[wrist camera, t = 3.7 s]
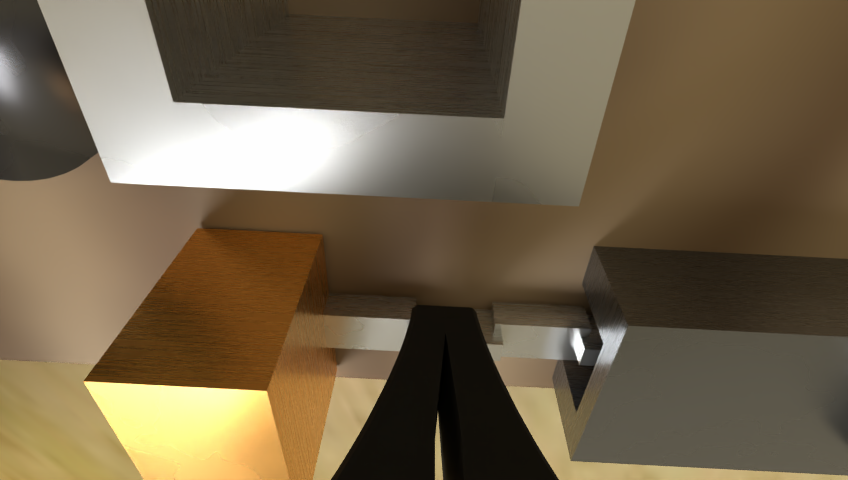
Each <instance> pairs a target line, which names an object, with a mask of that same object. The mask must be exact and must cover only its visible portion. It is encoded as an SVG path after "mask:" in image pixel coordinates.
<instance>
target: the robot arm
mask: <svg viewBox="0 0 848 480" xmlns="http://www.w3.org/2000/svg"><path fill="white" fill-rule="evenodd" d="M437 414H438V416H439V429H440V443H441V456H442V470H443V480H559V479H558V478H557V476H556V474H555V473H554V471H553V470H552V468H551V467H550V465H549V464H548V462H547V460H546V459H545V457H544V456H543V454H542V452H541V451H540V449H539V447H538V446H537V444H536V442H535V441H534V439H533V437H532V435H531V434H530V432H529V430H528V428H527V426H526V425H525V423H524V421H523V419H522V417H521V416H520V414H519V412H518V410H517V408H516V406H515V404H514V402H513V400H512V399H511V397H510V395H509V392H508V390H507V388H506V386H505V384H504V382H503V380H502V378H501V376H500V374H499V372H498V369H497V367H496V365H495V363H494V360H493V358H492V356H491V353H490V351H489V348H488V346H487V343H486V341H485V338H484V335H483V333H482V330H481V327H480V323H479V320H478V317H477V313H476V311H475V310H474V309H473V308H470V307H451V306H431V305H416V306H415V307H413V308H412V311H411V317H410V321H409V325H408V329H407V332H406V335H405V338H404V341H403V344H402V346H401V349H400V352H399V354H398V357H397V359H396V361H395V364H394V366H393V368H392V371H391V373H390V375H389V377H388V380H387V382H386V384H385V386H384V388H383V390H382V392H381V394H380V396H379V398H378V400H377V402H376V404H375V406H374V408H373V410H372V412H371V414H370V415H369V417H368V419H367V421H366V423H365V425H364V427H363V428H362V430H361V432H360V434H359V435H358V437H357V439H356V441H355V442H354V444H353V446H352V447H351V449H350V451H349V452H348V454H347V455H346V457H345V459H344V460H343V462H342V464H341V465H340V467H339V468H338V470H337V471H336V473H335V474H334V476H333V477H332V479H331V480H435V433H436V424H437Z"/></svg>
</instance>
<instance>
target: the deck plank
mask: <svg viewBox="0 0 848 480" xmlns="http://www.w3.org/2000/svg"><path fill="white" fill-rule="evenodd" d="M479 6H480V0H288V9H289V14H299V15H319V16H339V17H360V18H380V19H400V20H420V21H440V22H460V23H478V16H479ZM197 228H205V229H224V230H244V231H263V232H283V233H303V234H322V235H323V243H324V252H325V261H326V271H327V280H328V289H329V293H332V294H351V295H371V296H390V297H410V298H416V305H431V306H451V307H470V308H473V309H482V310H491V308H492V302H507V303H527V304H546V305H566V306H584V308H585V311H586V314H587V315H593V313H592V310H591V308H590V305H589V302H588V299H587V296H586V294H585V291H584V288H583V285H582V281H583V278H584V275H585V272H586V269H587V266H588V262H589V259H590V256H591V253H592V250H593V247H594V246H606V247H625V248H645V249H664V250H684V251H704V252H723V253H743V254H763V255H782V256H802V257H821V258H841V259H848V0H636V1H635V5H634V8H633V12H632V16H631V19H630V23H629V26H628V30H627V34H626V37H625V41H624V45H623V48H622V52H621V55H620V59H619V63H618V66H617V70H616V74H615V77H614V81H613V84H612V88H611V92H610V95H609V99H608V103H607V106H606V110H605V113H604V117H603V121H602V124H601V128H600V132H599V135H598V139H597V142H596V146H595V150H594V153H593V157H592V160H591V164H590V168H589V171H588V175H587V179H586V182H585V186H584V189H583V193H582V197H581V200H580V204H579V206H561V205H541V204H521V203H501V202H482V201H462V200H442V199H423V198H403V197H383V196H364V195H344V194H324V193H304V192H285V191H265V190H245V189H226V188H206V187H186V186H166V185H147V184H127V183H111V182H110V180H109V177H108V175H107V172H106V170H105V167H104V165H103V162H102V160H101V157H100V155H99V152H98V153H97V154H96V155H94V156H93V157H92V158H90V159H89V160H88V161H86V162H85V163H84V164H82V165H81V166H79V167H78V168H76V169H74V170H72V171H70V172H67V173H65V174H62V175H59V176H56V177H52V178H49V179H41V180H34V181H8V180H0V360H19V361H39V362H58V363H77V364H97V363H98V361H99V360H100V359H101V357H102V356H103V354H104V353H105V352H106V350H107V349H108V348H109V346H110V345H111V344H112V342H113V341H114V340H115V338H116V337H117V336H118V334H119V333H120V332H121V330H122V329H123V328H124V326H125V325H126V323H127V322H128V321H129V319H130V318H131V317H132V315H133V314H134V313H135V311H136V310H137V309H138V307H139V306H140V305H141V303H142V302H143V301H144V299H145V298H146V297H147V295H148V294H149V292H150V291H151V290H152V288H153V287H154V286H155V284H156V283H157V282H158V280H159V279H160V278H161V276H162V275H163V274H164V272H165V271H166V270H167V268H168V267H169V266H170V264H171V263H172V261H173V260H174V259H175V257H176V256H177V255H178V253H179V252H180V251H181V249H182V248H183V247H184V245H185V244H186V243H187V241H188V240H189V239H190V237H191V236H192V235H193V233H194V232H195V230H196V229H197ZM399 352H400V351H383V350H364V349H344V348H335V354H336V363H337V372H336V377H347V378H366V379H386V380H388V377H389V375H390V373H391V371H392V368H393V366H394V364H395V361H396V359H397V357H398V354H399ZM494 363H495V365H496V367H497V369H498V372H499V374H500V376H501V378H502V380H503V382H504V384H505V386H520V387H540V388H554V384H553V380H552V376H553V373H554V370H555V367H556V363H557V359H538V358H518V357H501V359H500V361H494Z"/></svg>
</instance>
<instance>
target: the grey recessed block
mask: <svg viewBox="0 0 848 480" xmlns="http://www.w3.org/2000/svg"><path fill="white" fill-rule="evenodd" d="M37 1H38V4H39V6H40V9H41V11H42V14H43V16H44V19H45V21H46V23H47V26H48V28H49V31H50V33H51V36H52V38H53V41H54V43H55V46H56V48H57V51H58V53H59V56H60V58H61V61H62V63H63V66H64V68H65V71H66V73H67V75H68V78H69V80H70V83H71V85H72V88H73V90H74V93H75V95H76V98H77V100H78V103H79V105H80V108H81V110H82V113H83V115H84V118H85V120H86V123H87V125H88V128H89V130H90V132H91V135H92V137H93V140H94V142H95V145H96V147H97V150H98V152H99V155H100V157H101V160H102V162H103V165H104V167H105V170H106V172H107V175H108V177H109V180H110V182H111V183H127V184H147V185H166V186H186V187H206V188H226V189H245V190H265V191H285V192H304V193H324V194H344V195H364V196H383V197H403V198H423V199H442V200H462V201H482V202H501V203H521V204H541V205H561V206H579V204H580V200H581V197H582V193H583V189H584V186H585V182H586V179H587V175H588V171H589V168H590V164H591V160H592V157H593V153H594V150H595V146H596V142H597V139H598V135H599V132H600V128H601V124H602V121H603V117H604V113H605V110H606V106H607V103H608V99H609V95H610V92H611V88H612V84H613V81H614V77H615V74H616V70H617V66H618V63H619V59H620V55H621V52H622V48H623V45H624V41H625V37H626V34H627V30H628V26H629V23H630V19H631V16H632V12H633V8H634V5H635V1H636V0H480V6H479V16H478V23H460V22H440V21H420V20H400V19H380V18H360V17H339V16H319V15H299V14H289V9H288V0H37Z"/></svg>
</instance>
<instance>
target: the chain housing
mask: <svg viewBox="0 0 848 480" xmlns="http://www.w3.org/2000/svg"><path fill="white" fill-rule="evenodd" d="M582 285H583V288H584V291H585V294H586V296H587V299H588V302H589V305H590V308H591V310H592V313H593V316H594V319H595V321H596V324H597V327H598V330H599V333H600V335H601V338H602V341H603V346H602V349H601V351H600V354H599V356H598V359H597V361H596V364H595V366H586V365H579V363H578V361H576V360H557V363H556V367H555V370H554V373H553V376H552V380H553V384H554V389H555V393H556V398H557V402H558V406H559V411H560V415H561V420H562V424H563V428H564V433H565V437H566V442H567V446H568V450H569V455H570V459H571V461H582V462H601V463H620V464H639V465H658V466H677V467H696V468H715V469H734V470H753V471H773V472H792V473H811V474H830V475H848V259H841V258H821V257H802V256H782V255H763V254H743V253H723V252H704V251H684V250H664V249H645V248H625V247H606V246H594V247H593V250H592V253H591V256H590V259H589V262H588V266H587V269H586V272H585V275H584V278H583V281H582Z"/></svg>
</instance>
